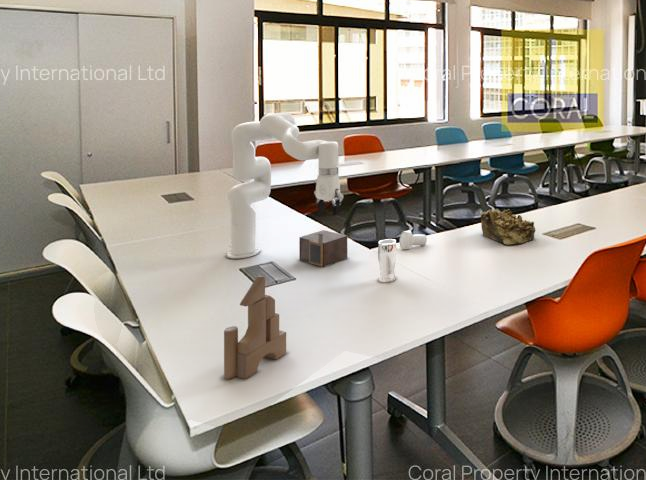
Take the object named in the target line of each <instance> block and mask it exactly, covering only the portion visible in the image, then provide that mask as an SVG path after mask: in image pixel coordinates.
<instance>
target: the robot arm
mask: <svg viewBox="0 0 646 480" xmlns="http://www.w3.org/2000/svg"><path fill="white" fill-rule="evenodd" d="M296 123H297V122H296V117H294V115H292V114H291V113H290V112H275V113H274V112H273V113H268V114H265V115H263V116H262V118H260V120H259V121H257V120H255V121H248V122H243V123H240V124H239V123H238V124H237V125H236V126H234V128H233V129H232V131H231V136H230V137H231V145H232V177H233V178H234V180H236V181H238V182H242V183H238V184H236V185H234V186H232V187H231V188H230V189H229V191H228V193H227V200H228V202H229V208H230V244H228V247H229V248H230V250H229V251H228V252H227V253H226V258H228V259H237V260H238V259H245V258H246V259H247V258H250V257H254V256H256V255H258V254H259V253H260V252H261V250H260V248H259V247H257V246H256V245H257V243H256V238H257V237H256V235H257V234H256V233H257V231H256V230H257V229H256V228H257V225H256V224H257V223H256V220H257V219H256V211H255V209H254V207H253V206H252V204H254V203H257V202H261V201H264V200H266V199H268V198H269V196H270V194H271V189H272V165H271V162H270V160H269V159H268V158H267V157H265V156H256V147H255V145H254V144H253V143H252V142H257V141H265V140H272V139H274V138H275V139H276V140H277V141H279V142H281V146H282V149H283V151H284V152H285V154H287V155H289V156H290V157H292V158H294V159H295V160H298V161H308V160H315V159H318V174H317V176H316V183H315V190H314V191H313V194H314V197H315V200H316V203H317V213H318V214H320V213H324V212H326V201H327V202H331V204H332V207H331V215H332V217H335V216H339V215H340V214H341V205H342V203H343V200H344V197H345V196H344V194H343V193H341V183H340V175H339V143H338V142H337V141H331V140H330V141H329V140H328V141H327V140H324V139H313V140H306V141H301V140H299V139H298V137H299V135H300V129H299V127H298V126H297V125H296ZM249 180H252V181H249ZM245 181H247V182H245Z"/></svg>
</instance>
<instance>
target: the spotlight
mask: <svg viewBox="0 0 646 480" xmlns="http://www.w3.org/2000/svg"><path fill="white" fill-rule="evenodd" d="M427 241H428V239H427V236H426V234H413V232H412V231H411V230H403V231H402V232H401V233H400V235H399V247H400V249H402V250H410V249H411V248H412V246H426V244H427Z"/></svg>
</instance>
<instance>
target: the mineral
mask: <svg viewBox="0 0 646 480" xmlns="http://www.w3.org/2000/svg"><path fill="white" fill-rule="evenodd" d="M480 225H481V231H482V236H484V237H487V238H489V239H491V240H493V241H495V242H499V243H500V244H503V245H507V246H508V245H516V244H523V243H527V242H529V241H532V240H535V232H536V227H535V221H530V220H527V219H523V216H521V214H517V215H516V214H515V213H514V214H513V211H511V209H510V208H508V209H503V210H502V211H501V210H500V209H499V208H496V209H493V210H492V209H488V210H487V211H481V214H480Z"/></svg>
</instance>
